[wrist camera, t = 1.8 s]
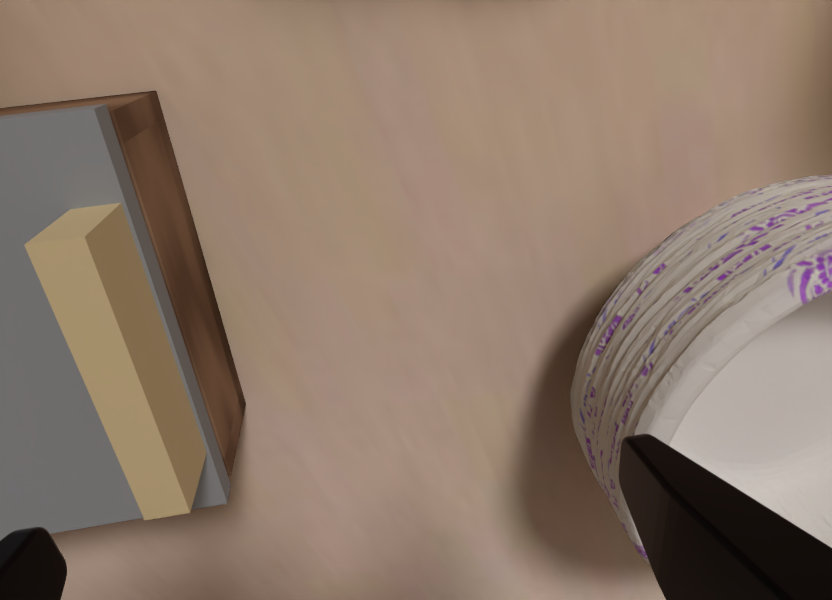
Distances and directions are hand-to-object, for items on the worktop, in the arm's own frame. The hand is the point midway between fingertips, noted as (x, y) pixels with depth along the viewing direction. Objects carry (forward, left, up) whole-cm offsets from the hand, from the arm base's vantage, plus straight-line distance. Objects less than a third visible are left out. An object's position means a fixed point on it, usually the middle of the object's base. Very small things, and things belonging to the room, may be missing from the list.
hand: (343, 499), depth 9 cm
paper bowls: (-7, -15, -13) cm, 21 cm away
